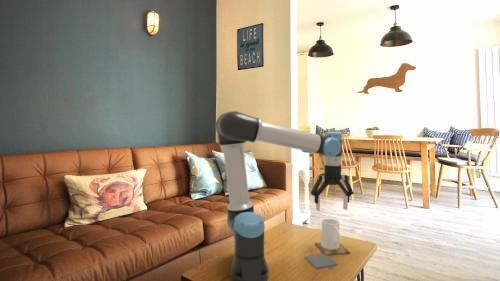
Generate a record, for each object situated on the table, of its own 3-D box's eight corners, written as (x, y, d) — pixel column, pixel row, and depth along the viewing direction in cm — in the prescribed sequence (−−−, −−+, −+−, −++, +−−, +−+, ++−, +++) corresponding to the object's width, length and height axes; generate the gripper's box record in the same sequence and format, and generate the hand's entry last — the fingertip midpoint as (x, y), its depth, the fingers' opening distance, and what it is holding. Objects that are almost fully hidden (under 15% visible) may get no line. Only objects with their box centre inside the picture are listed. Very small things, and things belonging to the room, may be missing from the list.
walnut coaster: (324, 255, 128) (324, 253, 128) (314, 244, 140) (314, 243, 140) (349, 253, 130) (349, 252, 130) (337, 243, 142) (337, 241, 142)
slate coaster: (316, 269, 117) (316, 267, 117) (304, 258, 126) (304, 256, 126) (337, 265, 120) (337, 263, 120) (324, 254, 129) (324, 253, 129)
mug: (346, 251, 130) (346, 226, 130) (329, 253, 129) (329, 227, 128) (334, 241, 142) (334, 217, 141) (318, 243, 140) (318, 219, 140)
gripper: (310, 166, 127) (309, 213, 129) (362, 165, 131) (360, 211, 132) (304, 164, 135) (303, 208, 136) (353, 163, 139) (352, 206, 140)
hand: (331, 209), depth 134 cm, fingers open, 13 cm apart
